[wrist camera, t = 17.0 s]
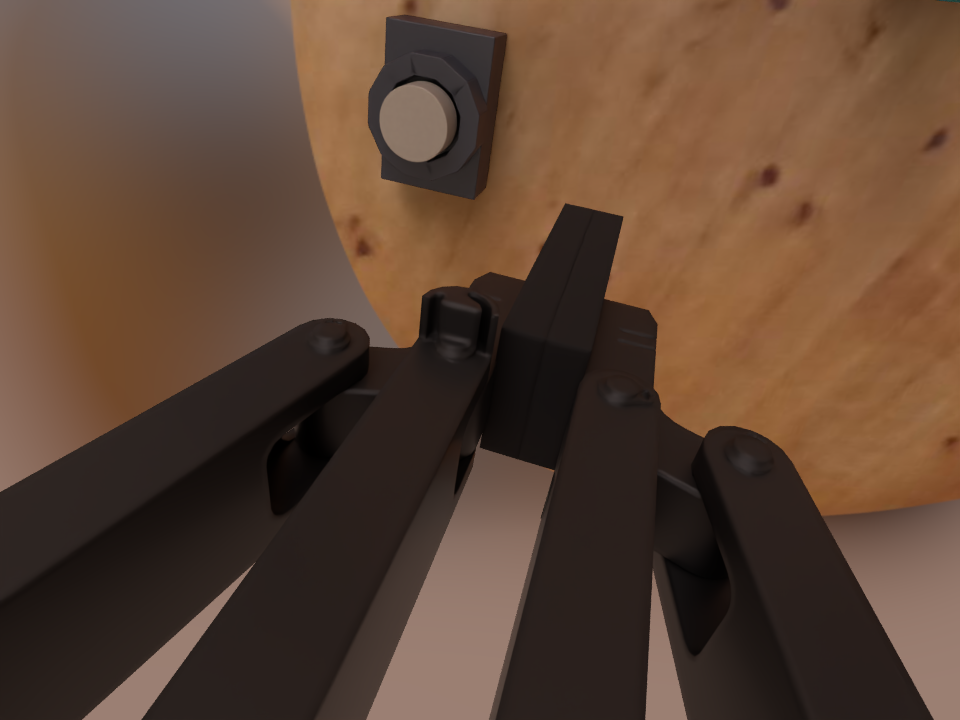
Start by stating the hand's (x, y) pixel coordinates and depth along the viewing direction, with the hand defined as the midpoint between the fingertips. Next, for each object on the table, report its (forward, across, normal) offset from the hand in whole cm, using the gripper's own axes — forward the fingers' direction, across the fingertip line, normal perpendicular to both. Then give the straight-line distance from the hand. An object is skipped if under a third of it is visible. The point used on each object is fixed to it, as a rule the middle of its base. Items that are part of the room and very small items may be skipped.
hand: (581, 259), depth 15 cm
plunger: (+22, -13, -3) cm, 25 cm away
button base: (+26, -12, -3) cm, 29 cm away
